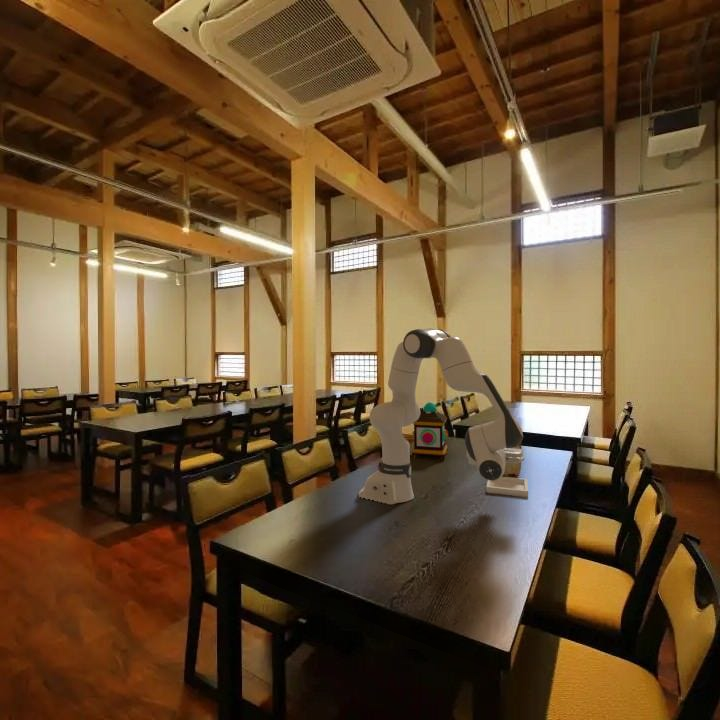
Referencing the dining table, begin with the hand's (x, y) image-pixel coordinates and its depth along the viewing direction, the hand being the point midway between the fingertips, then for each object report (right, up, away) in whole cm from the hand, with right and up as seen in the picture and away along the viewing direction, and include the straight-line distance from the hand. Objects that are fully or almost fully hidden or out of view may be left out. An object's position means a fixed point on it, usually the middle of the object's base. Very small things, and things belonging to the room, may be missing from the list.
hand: (494, 448), depth 157 cm
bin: (+10, -20, +15) cm, 27 cm away
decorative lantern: (-13, -19, +67) cm, 71 cm away
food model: (+18, -20, +32) cm, 41 cm away
